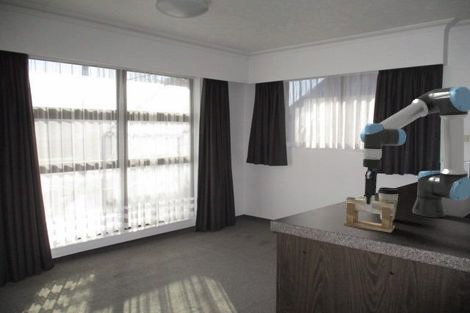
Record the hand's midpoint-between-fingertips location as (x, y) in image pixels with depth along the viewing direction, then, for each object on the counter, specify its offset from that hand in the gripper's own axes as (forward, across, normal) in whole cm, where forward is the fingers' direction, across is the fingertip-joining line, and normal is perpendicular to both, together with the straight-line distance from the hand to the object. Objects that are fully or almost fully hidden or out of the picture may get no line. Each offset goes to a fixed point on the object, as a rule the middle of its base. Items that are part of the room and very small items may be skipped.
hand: (369, 210), depth 164 cm
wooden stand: (+7, 0, 0) cm, 7 cm away
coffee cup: (+8, -21, +4) cm, 23 cm away
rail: (+1, 0, 0) cm, 1 cm away
